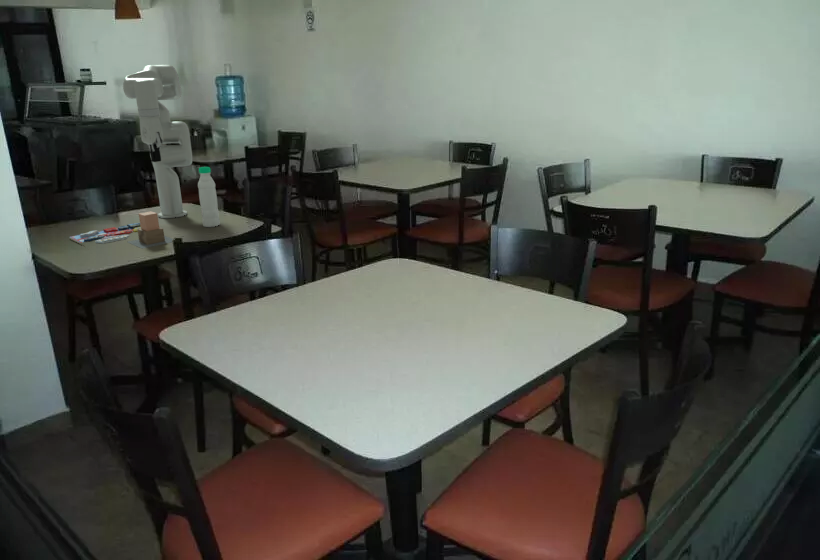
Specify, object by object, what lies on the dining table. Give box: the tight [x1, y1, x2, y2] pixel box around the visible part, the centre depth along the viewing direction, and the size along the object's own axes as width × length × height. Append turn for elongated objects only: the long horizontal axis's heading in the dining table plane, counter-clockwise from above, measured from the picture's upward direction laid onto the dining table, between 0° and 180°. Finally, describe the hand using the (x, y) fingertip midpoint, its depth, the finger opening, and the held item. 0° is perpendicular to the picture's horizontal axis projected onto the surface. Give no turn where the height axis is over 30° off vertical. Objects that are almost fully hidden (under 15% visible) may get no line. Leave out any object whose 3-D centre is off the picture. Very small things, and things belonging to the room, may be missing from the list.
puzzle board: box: [69, 222, 141, 247], centre depth 250 cm, size 30×23×3 cm
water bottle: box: [197, 166, 221, 228], centre depth 260 cm, size 7×7×25 cm
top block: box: [138, 210, 161, 231], centre depth 235 cm, size 5×5×6 cm
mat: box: [127, 235, 174, 249], centre depth 238 cm, size 14×14×1 cm
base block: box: [137, 226, 165, 245], centre depth 237 cm, size 7×7×5 cm
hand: (156, 161), depth 243 cm, fingers closed
